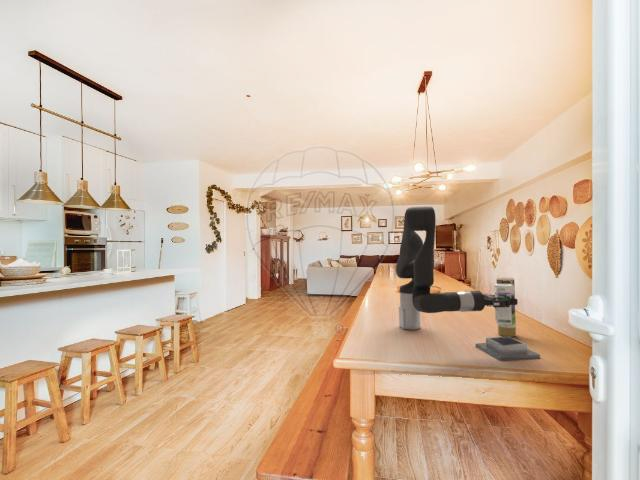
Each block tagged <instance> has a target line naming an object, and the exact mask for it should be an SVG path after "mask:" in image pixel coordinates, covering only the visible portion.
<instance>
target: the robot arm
mask: <svg viewBox="0 0 640 480" xmlns="http://www.w3.org/2000/svg"><path fill="white" fill-rule="evenodd" d="M404 212H405V213H404V217H403V231H402V237H401V242H400V247H399V256H398V259H397V261H396V265H395V274H396V276H397V278H399V279H411V280H410V281H409V282H408V283H405V284H402V285H400V287H399V307H398V315H399V316H398V318H399V319H398V320H399V321H398V322H399V323H398V324H399V325H398V326H399V327H400V328H402V329H403V330H409V331H411V330H419V329H420V328H421V313H424V314H425V313H426V314H436V313H437V314H438V313H442V312H449V313H450V312H466V313H468V312H481V311H483V310H484V309H485V307H489V308H491V307H493V308H494V309H495V308H497V307H510V305H515V306H518V299H517V298H515V299H507V298H505V299H503V298H500V297H495V294H491V293H490V294H489V293H482V291H480V290H459V291H450V292H449V291H448V292H447V291H446V292H442V293H437V292H435V293H434V292H432V293H431V288H432V286H433V285H434V282H435V281H434V278H435V277H434V275H435V274H434V273H435V272H434V251H435V238H436V224H437V223H436V221H437V220H436V211H435V209H434V207H433V206H427V205H426V206H410V207H408V208H406V209H405V211H404ZM417 232H425V238H424V242H423V239H422V238H421V236H420V235H419V234H418V233H417ZM496 299H498V300H496Z"/></svg>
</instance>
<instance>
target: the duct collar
mask: <svg viewBox="0 0 640 480" xmlns="http://www.w3.org/2000/svg"><path fill="white" fill-rule="evenodd" d="M475 348H477V349H479V350H480V351H482V352H484V353H486V354H488V355H489V356H491V357H493V358H495V359H497V360H498V361H501V362H502V361H513V360H515V361H517V360H531V359H533V360H534V359H541V354H539V353H538V352H536V351H533V350H531V349H529V348H528V344H527V343H525V342H523V341H520V340H519V339H517V338H514V337H509V336H506V337H505V336H494V337H493V336H492V337H491V336H490V337H485V342H482V343H475Z"/></svg>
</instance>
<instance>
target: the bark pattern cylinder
mask: <svg viewBox="0 0 640 480" xmlns="http://www.w3.org/2000/svg"><path fill="white" fill-rule="evenodd" d="M495 280H496V284H513V285H514V299H516V294H515V293H516V292H515V291H516V290H515V286H516V285H515V277H508V276H507V277H505V276H504V277H502V276H501V277H496V279H495ZM514 314H515V315H516V305H514ZM516 327H517V325H516V316H515V325H510V324H497V333H498V335H499V336H500V337H506V336H509V337H512V338H514V337H516V336H517V330H516V329H517V328H516Z"/></svg>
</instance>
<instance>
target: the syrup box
mask: <svg viewBox="0 0 640 480" xmlns="http://www.w3.org/2000/svg"><path fill="white" fill-rule="evenodd" d="M494 295H495V297H500V298H503V299H505V298H507V299H514V285H513V284H497V283H494ZM496 300H498V299H496ZM515 317H516V313H515V314H514V305H510V307H497V308H494V320H495V322H496V324H497V325H498V324H510V325H515Z"/></svg>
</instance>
